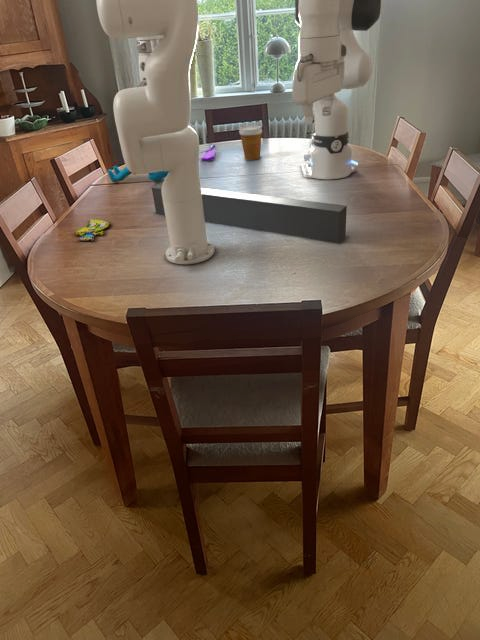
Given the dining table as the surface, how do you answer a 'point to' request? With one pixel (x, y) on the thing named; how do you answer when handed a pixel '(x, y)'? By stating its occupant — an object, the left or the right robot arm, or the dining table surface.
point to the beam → (270, 214)
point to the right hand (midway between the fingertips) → (318, 119)
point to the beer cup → (251, 141)
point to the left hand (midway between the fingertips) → (163, 116)
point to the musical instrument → (209, 154)
